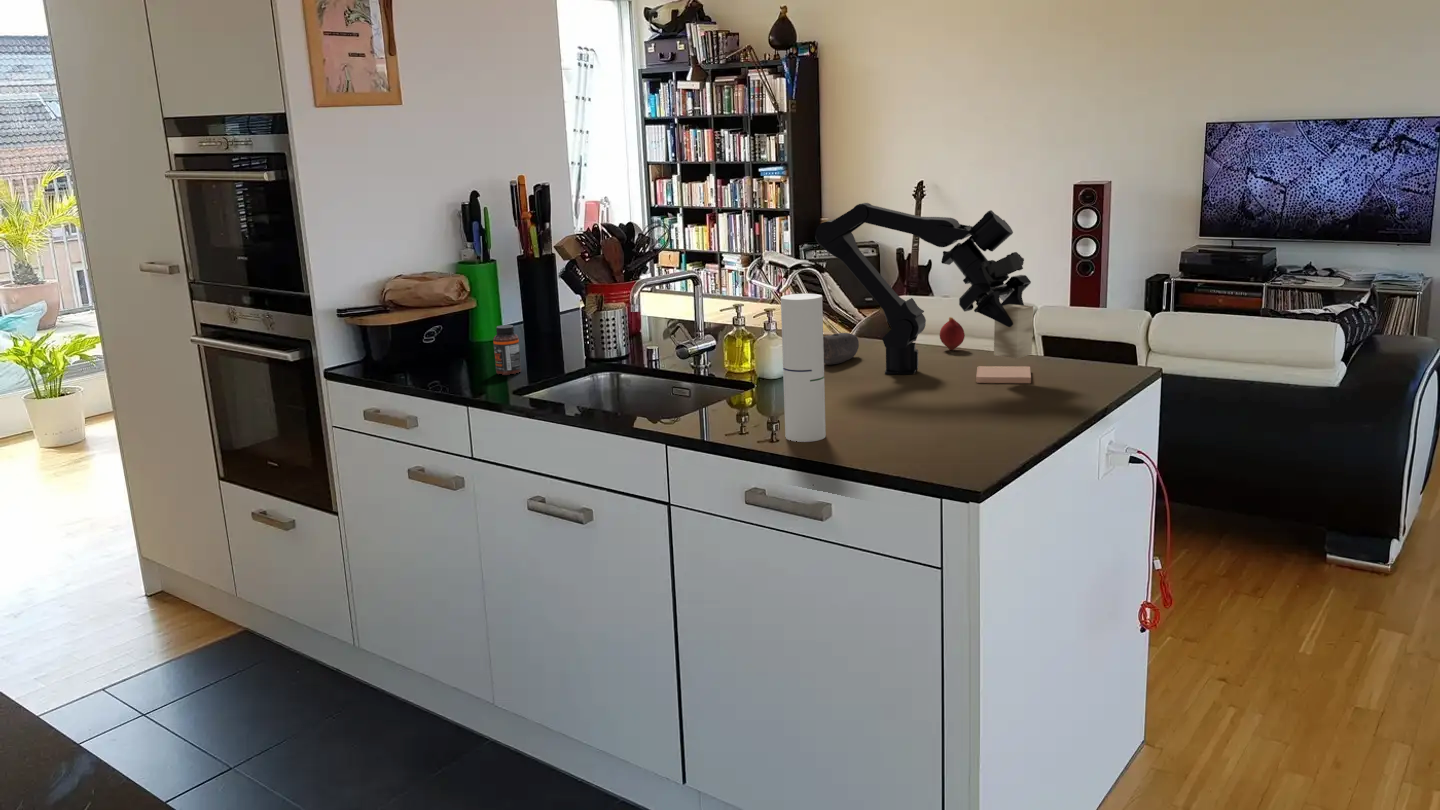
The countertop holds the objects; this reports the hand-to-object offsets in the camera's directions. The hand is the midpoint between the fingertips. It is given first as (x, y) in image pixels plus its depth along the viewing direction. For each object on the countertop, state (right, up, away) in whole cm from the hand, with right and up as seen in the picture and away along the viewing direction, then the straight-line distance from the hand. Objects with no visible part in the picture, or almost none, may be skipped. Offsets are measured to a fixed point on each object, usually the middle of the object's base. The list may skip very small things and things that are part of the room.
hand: (1019, 323), depth 230 cm
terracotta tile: (-1, -11, +8) cm, 14 cm away
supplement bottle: (-112, -9, +37) cm, 118 cm away
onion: (-6, -4, +39) cm, 40 cm away
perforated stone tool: (-33, -7, +32) cm, 47 cm away
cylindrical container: (-46, -22, -31) cm, 60 cm away
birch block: (-1, -6, +3) cm, 7 cm away
